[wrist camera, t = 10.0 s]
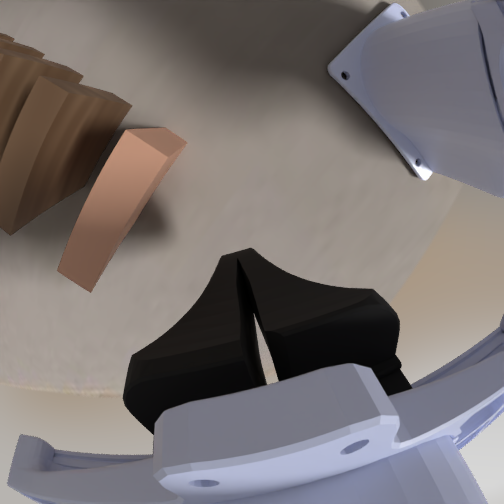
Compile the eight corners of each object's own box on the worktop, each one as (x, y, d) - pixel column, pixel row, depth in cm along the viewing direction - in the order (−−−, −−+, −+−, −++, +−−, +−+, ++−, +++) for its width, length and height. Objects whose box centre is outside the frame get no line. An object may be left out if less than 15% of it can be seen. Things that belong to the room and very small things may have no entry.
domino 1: (83, 75, 10) (4, 54, 4) (40, 155, 11) (-44, 186, 5) (67, 66, 10) (-13, 45, 3) (25, 144, 11) (-59, 170, 5)
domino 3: (187, 142, 13) (168, 157, 7) (135, 220, 14) (90, 293, 8) (165, 127, 12) (125, 129, 6) (115, 207, 14) (56, 270, 7)
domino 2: (132, 105, 12) (68, 92, 5) (84, 186, 13) (10, 235, 7) (112, 93, 11) (39, 75, 5) (66, 173, 12) (-14, 215, 6)
